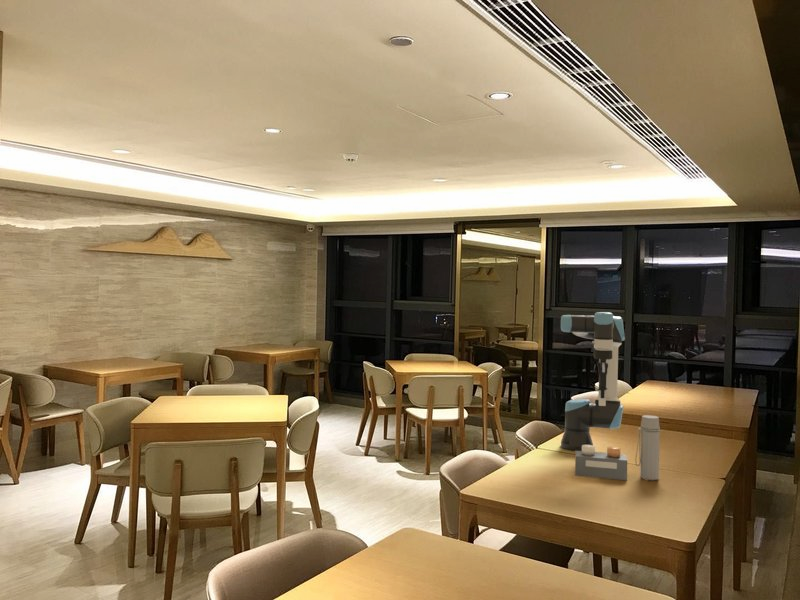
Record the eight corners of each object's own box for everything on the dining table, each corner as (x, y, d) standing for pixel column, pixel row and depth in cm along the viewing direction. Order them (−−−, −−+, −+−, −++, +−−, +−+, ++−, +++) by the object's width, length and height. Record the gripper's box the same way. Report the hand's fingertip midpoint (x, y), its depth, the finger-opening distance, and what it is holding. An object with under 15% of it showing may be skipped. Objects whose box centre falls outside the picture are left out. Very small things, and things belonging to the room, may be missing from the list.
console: (575, 469, 271) (575, 450, 271) (625, 473, 265) (625, 454, 265) (575, 475, 261) (575, 456, 261) (627, 480, 255) (627, 460, 255)
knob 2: (606, 472, 265) (607, 446, 265) (619, 473, 264) (620, 447, 264) (606, 476, 260) (607, 449, 260) (620, 477, 259) (620, 450, 259)
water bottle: (655, 476, 263) (657, 415, 263) (661, 481, 255) (663, 419, 255) (632, 475, 264) (633, 414, 263) (637, 480, 256) (639, 418, 256)
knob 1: (581, 470, 268) (581, 444, 268) (594, 471, 266) (594, 445, 266) (581, 473, 263) (581, 447, 263) (594, 474, 261) (595, 448, 261)
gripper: (593, 347, 274) (592, 402, 275) (594, 350, 262) (593, 408, 262) (611, 348, 272) (610, 403, 273) (613, 351, 260) (612, 409, 261)
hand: (602, 405), depth 268 cm, fingers closed
